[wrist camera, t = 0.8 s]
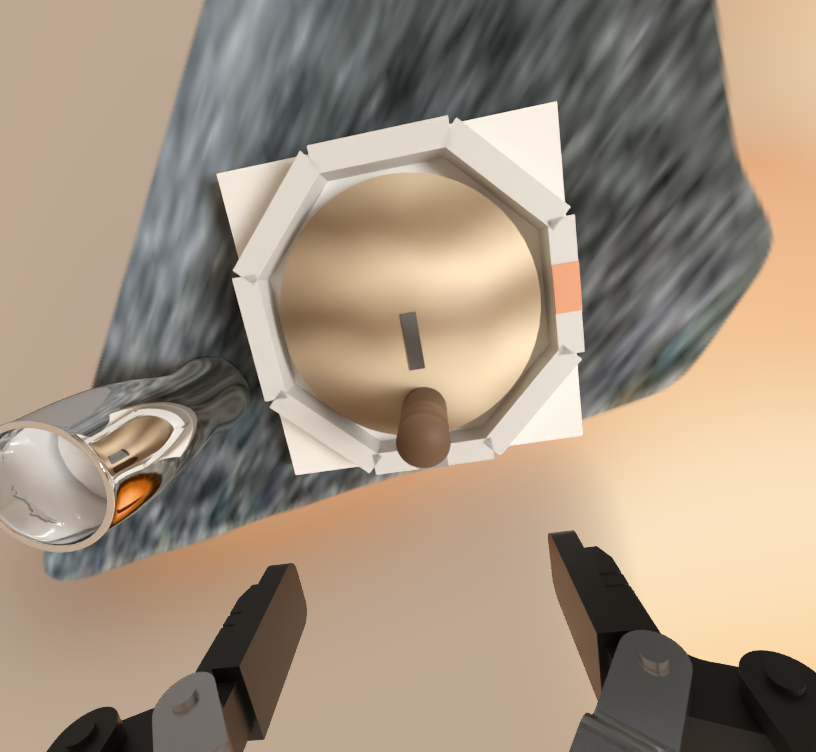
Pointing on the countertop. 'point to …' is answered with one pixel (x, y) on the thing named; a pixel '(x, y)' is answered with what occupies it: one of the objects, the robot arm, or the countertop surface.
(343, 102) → the countertop surface
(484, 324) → the dial
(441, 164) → the dial housing
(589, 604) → the robot arm
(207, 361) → the beer glass
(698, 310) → the countertop surface
